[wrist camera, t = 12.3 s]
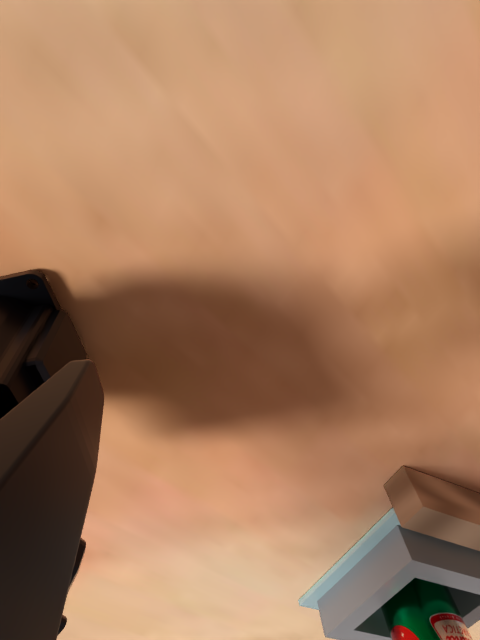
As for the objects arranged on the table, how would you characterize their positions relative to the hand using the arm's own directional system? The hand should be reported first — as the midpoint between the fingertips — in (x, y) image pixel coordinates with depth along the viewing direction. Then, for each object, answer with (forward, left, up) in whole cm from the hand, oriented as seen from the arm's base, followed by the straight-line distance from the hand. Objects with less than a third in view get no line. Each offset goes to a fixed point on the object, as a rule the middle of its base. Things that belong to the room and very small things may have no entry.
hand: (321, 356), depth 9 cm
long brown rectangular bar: (+12, -25, -12) cm, 30 cm away
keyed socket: (+6, -31, -12) cm, 34 cm away
